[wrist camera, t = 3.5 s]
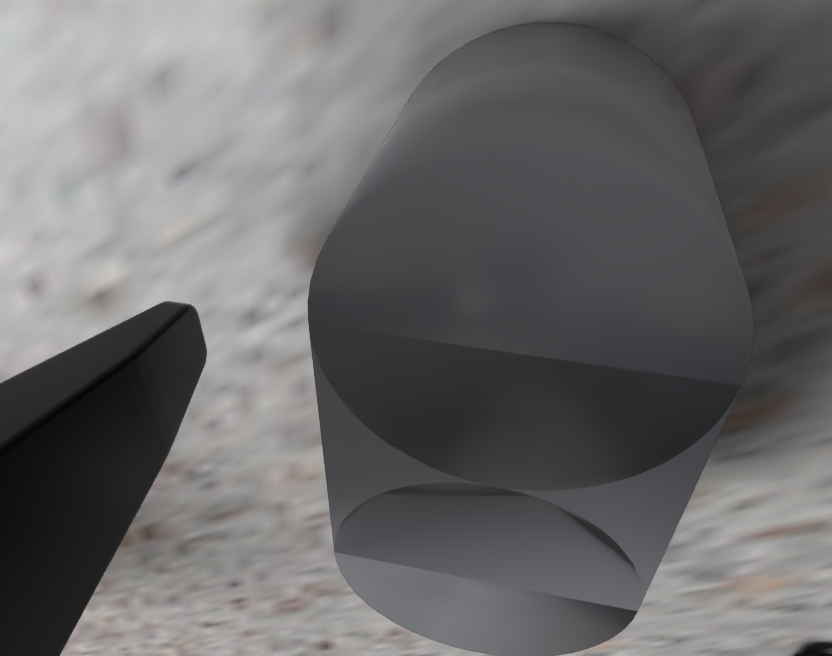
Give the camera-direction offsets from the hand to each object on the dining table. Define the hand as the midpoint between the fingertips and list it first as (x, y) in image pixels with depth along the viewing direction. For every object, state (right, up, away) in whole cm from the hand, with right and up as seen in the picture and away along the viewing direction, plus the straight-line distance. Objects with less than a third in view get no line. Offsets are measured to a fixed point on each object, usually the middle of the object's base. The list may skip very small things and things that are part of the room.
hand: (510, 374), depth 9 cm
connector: (0, +1, +1) cm, 2 cm away
